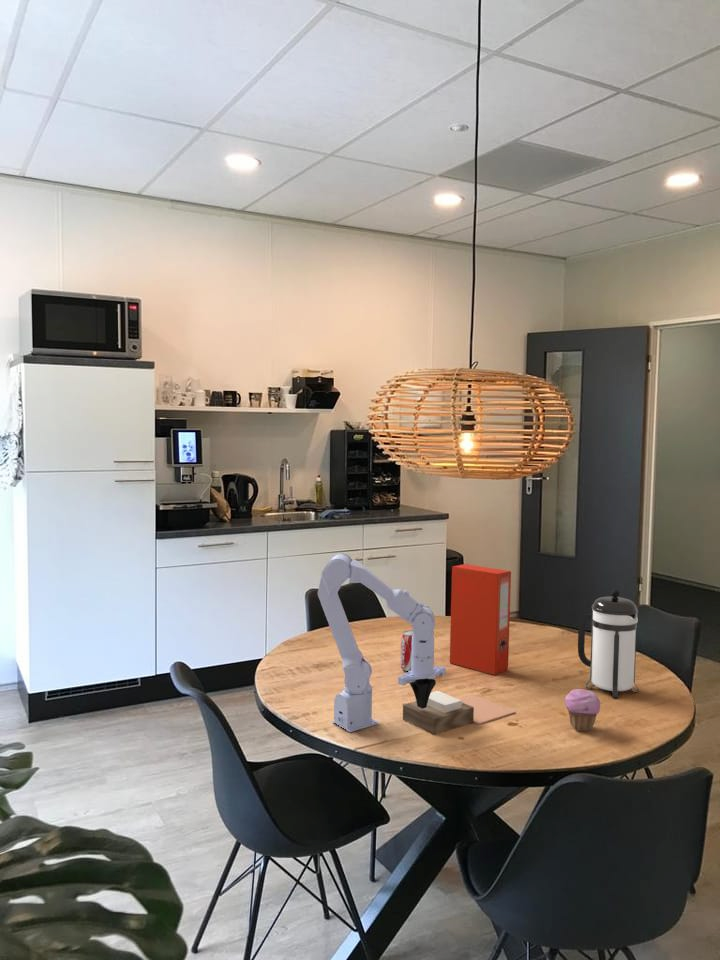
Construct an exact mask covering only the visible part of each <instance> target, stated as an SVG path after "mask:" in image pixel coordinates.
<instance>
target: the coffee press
mask: <svg viewBox="0 0 720 960" xmlns="http://www.w3.org/2000/svg"><path fill="white" fill-rule="evenodd" d="M610 595H611V596H602V597H598V598H597V599H595V600H594V603H592V605H591V609H592V613H587V614H584V615H582V616H581V618H580V620H579V623H578V627H577V628H578V629H577V631H578V632H577V633H578V634H577V654H578V658H579V659H580V661H581V663H582V664H584V665H585V666H586V667H588V668H590V669H589V670H590V671H589V679H588V681H587V682H586V683H585V688H586V689H587V690H591V689H592V688H594V687H596V688H599V689H600V690H604V691H605V690H606V691H611V696H612V697H613V698H612V699H619V696H618V695H619V692H625V691H626V692H627V691H628V690H631V691H632V692H634V693H635V692H637V693H638V692H639V691H640V689H639V687H638V686H637V685H636V675H635V674H636V654H637V653H636V652H637V627H638V626H637V624H638V621H639V619H638V612H639V609H638V607H637V606H636V604H635V603H634V602H633V601H632V600H631V599H628V598H624V597H619V596H620V592H619V591H618V590H617V589H612V591H611V592H610ZM588 621H591V631H590V632H591V633H590V634H591V635H590V636H591V638H590V639H591V641H590V659H588V658H587V656H586V652H585V643H586V641H585V639H586V637H585V636H586V624H587V622H588ZM590 682H591V683H592V684H591V685H590V686H588V685H589V683H590ZM634 686H635V688H636V690H634V689H633V687H634Z"/></svg>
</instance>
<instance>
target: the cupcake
mask: <svg viewBox="0 0 720 960" xmlns="http://www.w3.org/2000/svg"><path fill="white" fill-rule="evenodd" d="M564 706H565V708H566V709H567V710H568V711H567V712H568V716H569V723H570V725H571V726H572V727H573V728H574V730H575V731H577V732H585V731H590V730H592V728H593V727H594V725H595V723H596V719H597V716H598V715H597V714H599V713H600V710H601V702H600V699H599V697H598V696H597V694H596V693H595V692H593V691H592V690H586V689H581V688H579V689H578V688H577V689H576V688H575V689H571V691H570V692H568V694H567V695H566V696H565V698H564Z"/></svg>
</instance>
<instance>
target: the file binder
mask: <svg viewBox="0 0 720 960" xmlns="http://www.w3.org/2000/svg"><path fill="white" fill-rule="evenodd" d="M451 567H452V568H451V593H450V595H451V597H450V598H451V600H450V601H451V602H450V631H449V633H450V637H449V638H450V639H449V664H453V665H457V666H459V665H460V666H459V667H464V668H466V669H472V670H475V671H478V672H482V673H484V674H485V673H486V674H489V675H494V676H498V675H500V674H502V673H504V672H507V671H509V654H510V653H509V649H510V647H509V646H510V619H511V618H510V617H511V616H510V615H511V614H510V613H511V612H510V611H511V587H512V584H511V583H512V581H511V580H512V571H511V570H505V569H499V568H493V567H492V568H491V567H485V566H480V565H474V564H467V563H464V564H459V565H452V566H451Z"/></svg>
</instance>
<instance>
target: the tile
mask: <svg viewBox="0 0 720 960" xmlns="http://www.w3.org/2000/svg"><path fill="white" fill-rule="evenodd" d="M427 705H428V706H430V707H432V708H434V709H437V710H439V711H441V712H443V713H446V712H450V711H453V710H456V709H460V708H461V705H462V700H459V698H456V697H454V696H452V695H449V694H447V693H445V692H443V691H439V690H435V691H433V692H432V691H431V693H430V696H429V699H428V703H427Z"/></svg>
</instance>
